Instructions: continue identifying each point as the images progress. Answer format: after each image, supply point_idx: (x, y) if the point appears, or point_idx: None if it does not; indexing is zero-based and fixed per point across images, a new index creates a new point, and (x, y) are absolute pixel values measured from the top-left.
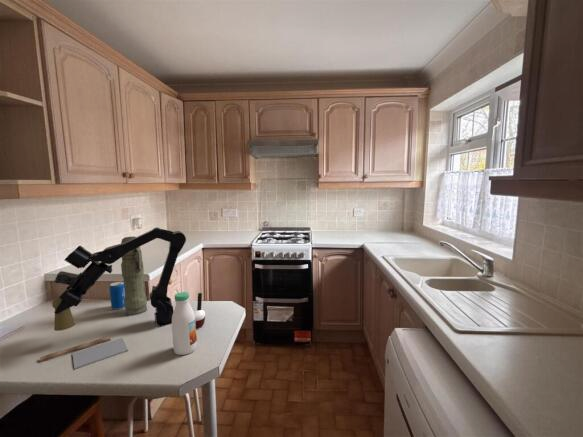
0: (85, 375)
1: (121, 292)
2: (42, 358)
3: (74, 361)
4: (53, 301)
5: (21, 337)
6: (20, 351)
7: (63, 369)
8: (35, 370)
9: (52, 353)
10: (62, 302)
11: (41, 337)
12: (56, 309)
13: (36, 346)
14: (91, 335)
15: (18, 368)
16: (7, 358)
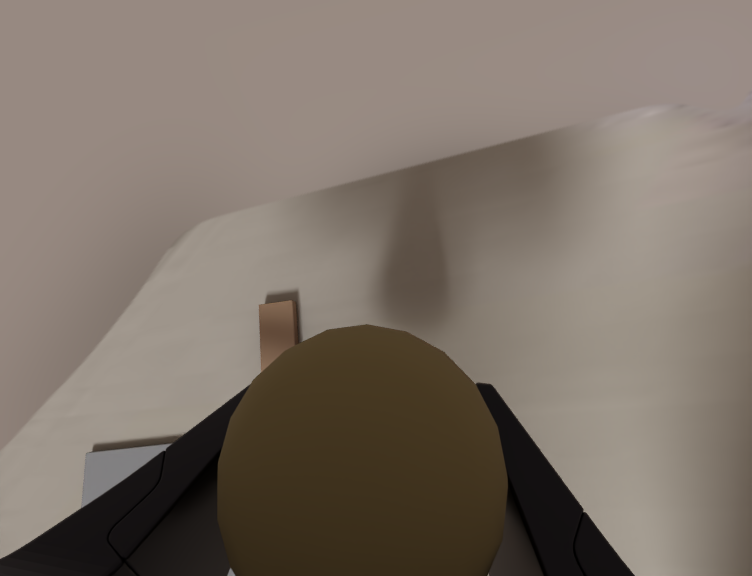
0: (8, 498)
1: None
2: (267, 312)
3: (146, 450)
4: (308, 350)
5: (638, 166)
6: (445, 205)
7: (127, 407)
8: (203, 302)
9: (292, 346)
10: (87, 533)
11: (577, 259)
12: (239, 393)
13: (461, 259)
14: None
15: (269, 238)
16: (400, 175)
